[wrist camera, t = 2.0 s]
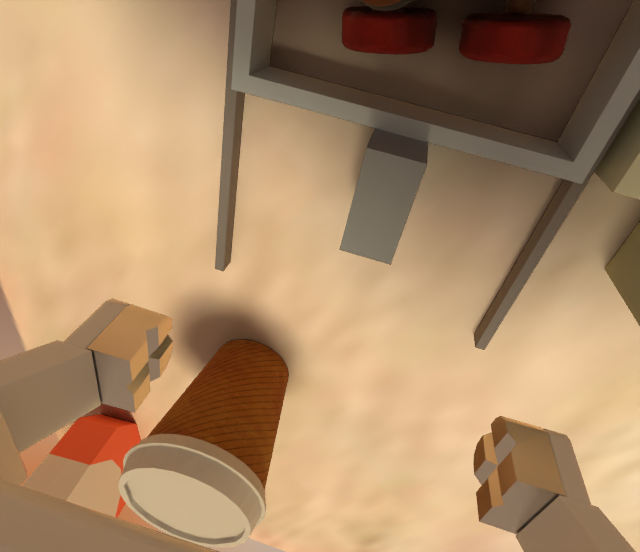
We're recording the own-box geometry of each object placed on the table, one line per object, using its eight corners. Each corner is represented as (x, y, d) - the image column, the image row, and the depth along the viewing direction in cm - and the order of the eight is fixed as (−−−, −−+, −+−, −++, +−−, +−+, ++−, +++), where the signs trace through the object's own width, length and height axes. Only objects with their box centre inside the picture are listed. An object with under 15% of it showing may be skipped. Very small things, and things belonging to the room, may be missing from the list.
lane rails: (1211, -149, 13) (1275, -161, 12) (652, 388, 28) (660, 403, 27) (264, -337, 15) (252, -360, 14) (222, 259, 30) (215, 268, 29)
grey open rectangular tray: (769, -201, 14) (951, -305, 9) (518, 244, 24) (539, 308, 19) (289, -299, 15) (219, -438, 10) (244, 167, 25) (199, 208, 20)
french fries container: (135, 408, 43) (-20, 625, 28) (150, 467, 49) (30, 669, 34) (94, 397, 43) (-78, 604, 29) (115, 457, 49) (-18, 652, 35)
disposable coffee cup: (227, 302, 32) (136, 440, 22) (330, 368, 33) (287, 524, 23) (183, 366, 37) (94, 499, 27) (273, 420, 39) (219, 564, 29)
